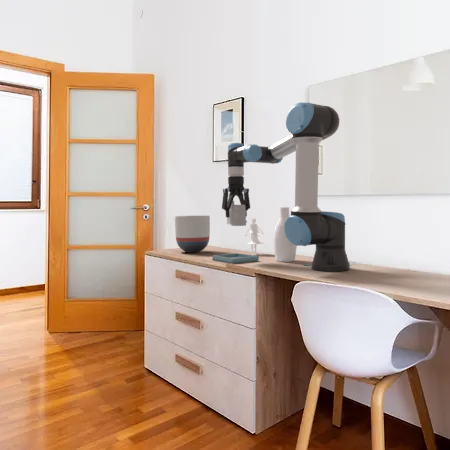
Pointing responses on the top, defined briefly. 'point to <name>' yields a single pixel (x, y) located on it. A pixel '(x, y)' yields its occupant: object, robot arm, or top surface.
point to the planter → (192, 232)
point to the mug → (238, 215)
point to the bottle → (283, 239)
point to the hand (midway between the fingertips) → (236, 223)
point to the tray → (235, 258)
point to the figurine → (254, 235)
